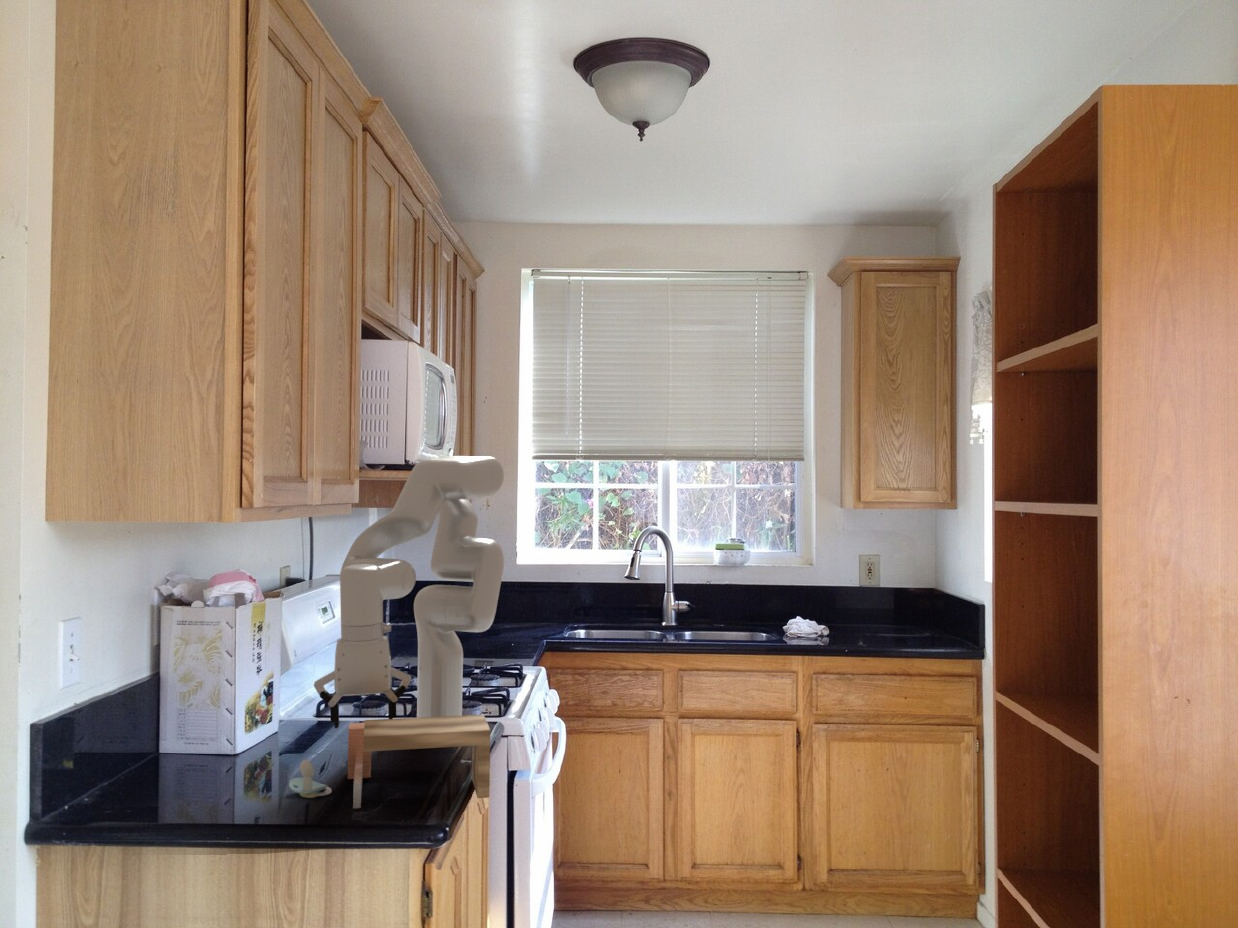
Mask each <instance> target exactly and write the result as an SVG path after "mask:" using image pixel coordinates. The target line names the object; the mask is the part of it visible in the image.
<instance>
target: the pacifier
mask: <svg viewBox="0 0 1238 928" xmlns="http://www.w3.org/2000/svg"><path fill="white" fill-rule="evenodd" d="M299 771H300V774H301V775H302V777H294V778H292V779H290V780H289V783H288V786H289V789H290V790H291V791H292V792H294V793H295V794H296V793H297V794H299V796H300V797H303V798H307V799H308V798H309V799H310V798H311V799H312V798H313V799H314V798H316V797H322V796H323V797H325V796H328V795H330V794H332V792H333V791H332V788H331V787H329V786H328V784H323V783H320V782H317V781H314V780H313V777H314V776H315V769H314V767H313V765H312V763H311V761H309V760H308V759H304V760H302V761H301V763H300V764H299Z"/></svg>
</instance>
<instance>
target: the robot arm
mask: <svg viewBox="0 0 1238 928" xmlns="http://www.w3.org/2000/svg"><path fill="white" fill-rule="evenodd" d="M504 475H505V473H504V467H503V466H502V463H501V462H500V460H498V459H497V458H496V457H494V456H487V455H486V456H485V455H482V456H480V455H479V456H478V455H477V456H476V455H473V456H472V455H471V456H469V455H447V456H446V455H445V456H440V457H436V458H426V459H422V460H420V461H418V462H417V463H416V464H415V465H414V466H413V468H412V470H411V471H410V474H409V475H408V478H407V480H406V482H405V483H404V485H403V488H402V490H401V492H400V494H399V496H398V498H397V499H396V502H395V504H394V506H393V508H392V510H391V511H390V512H388V513H387V514H385V515H384V516H382V517H381V518H379V519H377V520H376V521H375V522H374V523H373V524H371V525H370V526H369V527H367V528H366V529H365V530H363V531H362V532H361V533H360V534H359V535H358V536H357V537H356V539H355V540H354V541H353V542H352V545H351V546H350V548H349V550H348V552H347V554H346V556H345V559H344V560H343V563H342V566H341V569H340V574H339V586H340V587H339V589H340V592H339V593H340V594H339V595H340V597H339V598H340V636H341V637H340V638H338V639H337V641H336V646H335V655H334V669H333V671H331V672H330V673H328V674H326V675H324V676H322V677H321V678H319V679H317V680H315V681H314V684H313V688H315V691H316V692H317V694H318V696H319V698H320V699H321V700H323V701H324V702H325V703H326V704H327V705H328V706H329V710H330V712H329V713H330V715H329V716H330V724H332V723H333V725H334V729H338V728H339V727H340V703H339V701H340V700H341V698H342V697H345V696H346V697H348V696H349V697H350V696H365V695H376V694H377V695H378V694H384V695H385V696H386V697H387V698H388V707H387V709H388V719H397V702H398V700H399V699H400V698H401V697H402V695H403V694H404V693H405V692H406V691H407V688H408V686H409V685H410V682H411V681H412V676H411V674H408V673H406V672H404V671H402V670H399V669H397V668H396V667H395V668H394V667H392V662H391V661H392V660H391V650H390V642H389V638H388V636H386V635H385V633H389V632H392V623H390V624H387V623H385V622H384V600H385V601H386V600H395V599H402V598H404V597H405V596H407V595H409V594H410V593H411V592H412V590H413V589H414V587H415V585H416V580H417V574H416V571H415V570H416V569H415V568H414V566H413V565H412V564H411V562H408V561H406V560H403V559H399V558H384V557H380V556H381V555H382V554H383V553H385V552H386V551H388V550H389V549H392V548H394V547H397V546H399V545H401V544H405V543H407V542H411V541H413V540H415V539H418V538H420V537H422V536H424V535H426V534H428V533H429V532H430V531H431V529H432V527H433V525H434V522H435V520H436V517H437V515H438V513H439V515H438V516H439V518H438V524H437V530H436V534H435V539H434V543H433V549H432V552H431V553H432V554H431V560H430V570H431V574H433V576H434V577H435V578H437V579H439V580H444V581H451V582H452V581H454V582H466V583H467V582H470V583H472V586H465V585H463V586H462V585H454V584H453V585H451V584H447V585H446V584H432V585H428V586H425V587H423V588H422V589H420V590H419V591H418V592H417V594H416V596H415V598H414V601H413V613H414V619H415V620H414V621H415V625H416V632H417V635H416V636H417V681H416V683H417V686H416V687H417V689H416V690H417V691H416V693H417V696H416V718H421V717H443V716H463V675H464V673H463V671H464V670H463V669H464V650H463V646H462V645H463V644H462V643H461V640H460V638H459V637H458V635H457V634H456V632H463V633H464V632H467V633H483V632H486V631H487V630H489V629H490V628H491V626H492V625H493V623H494V620H495V616H496V613H497V607H498V602H499V601H498V600H499V596H500V591H501V590H500V589H501V584H502V579H503V574H504V573H503V572H504V565H505V564H504V563H505V561H504V559H505V557H504V551H503V549H502V547H501V544H499V543H498V541H496V540H494V539H490V538H485V537H477V536H476V534H477V528H478V521H479V518H478V515H477V512H476V510H475V508H474V506H473V505H472V503H471V502H470V500H474V499H475V500H477V499H480V498H484V497H485V498H486V497H491V496H494V495H495V494H496V493H497V492H499V490H500V489H501V488H502V485H503V482H504ZM392 677H393V678H396V679H398V680H401V682H400V685H398V686H397V688H396V689H394V688H393V687H392V680H393V679H392ZM332 681H333V684H334V693H332V694H331V693H329V691H327V690H326V688H325V686H326V685H327V684H328V683H330V682H332Z"/></svg>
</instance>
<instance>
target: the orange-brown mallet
mask: <svg viewBox="0 0 1238 928" xmlns="http://www.w3.org/2000/svg"><path fill="white" fill-rule="evenodd" d="M348 724H349V725H348V742H347V744H348V746H347V748H348V751H347V780H353V788H352V789H353V792H352V793H353V795H352V798H353V801H352V802H353V803H352V809H361V808H362V806H361V805H362V789H363V779H371V777H372V775H371V772H372V751H366V752H363V750H364V726H365V722H356V723H355V722H354V723H351V722H350V723H348Z"/></svg>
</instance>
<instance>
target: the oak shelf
mask: <svg viewBox="0 0 1238 928" xmlns="http://www.w3.org/2000/svg"><path fill="white" fill-rule="evenodd" d="M364 723H365V726H364V750H363V752H366V751H371V752H383V751H401V750H402V751H403V750H417V749H419V750H420V749H435V748H437V749H438V748H456V747H471V781H472V784H473V787H474V791H475V794H476V798H477V799H488V798H490V781H491V780H490V778H491V777H490V776H491V775H490V774H491V773H490V772H491V770H490V769H491V767H490V766H491V728H490V726H489V723H488V722H487V719H486V717H485V714H469V715H467V714H466V715H462V716H443V717H421V718H417V717H405V718H402V717H401V718H393V719H389V718H384V719H382V718H381V719H380V718H379V719H365V720H364Z"/></svg>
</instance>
